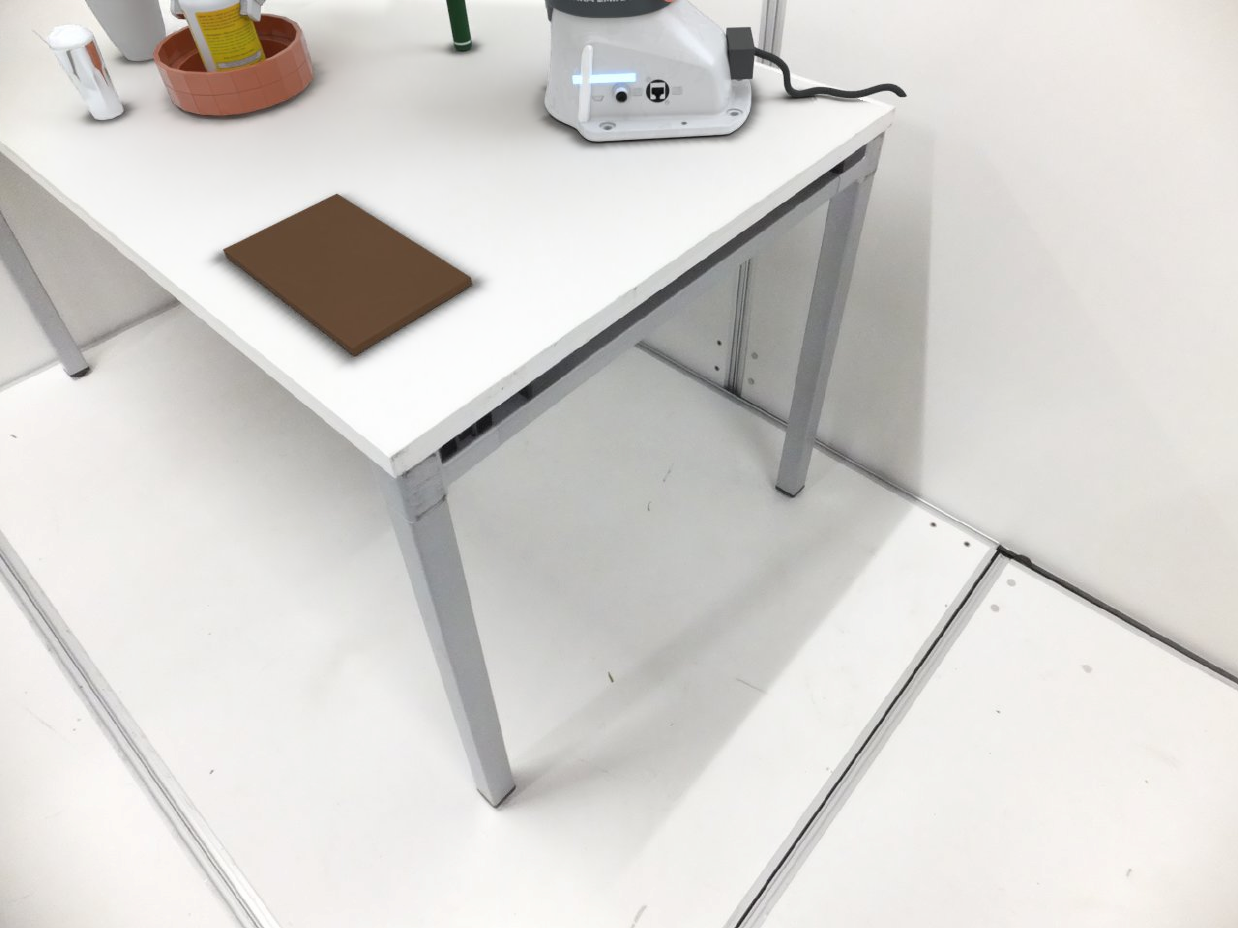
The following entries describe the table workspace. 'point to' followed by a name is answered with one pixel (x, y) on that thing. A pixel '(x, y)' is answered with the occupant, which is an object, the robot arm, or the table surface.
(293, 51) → the bowl
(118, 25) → the cup
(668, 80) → the robot arm
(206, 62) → the supplement bottle
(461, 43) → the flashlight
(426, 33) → the table surface
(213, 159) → the table surface
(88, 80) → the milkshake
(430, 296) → the mat
